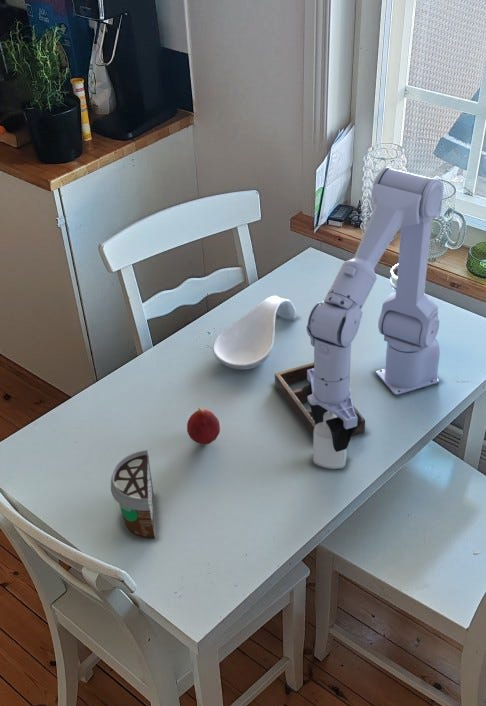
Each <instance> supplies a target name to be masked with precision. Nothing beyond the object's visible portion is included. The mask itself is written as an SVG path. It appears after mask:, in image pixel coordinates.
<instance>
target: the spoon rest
mask: <svg viewBox="0 0 486 706" xmlns="http://www.w3.org/2000/svg"><path fill="white" fill-rule="evenodd" d="M276 315H278V316H281V317H284V318H288V319H292V320H293V319H296V318H297V317H298V316H297V310H296V307H295V305H294V303H293V302H292V301H291V300H290V299H288V298H281V297H279V296H278V295H270V296H269V297H266V298H265V299H264V300H262V301H261V302H260V303H259V304H257V306H255V307H254V308H252V310H250V311H249V312H248V313H246V314H245V315H243V316H242V317H240V318H239V319H238V320H236V321H235V322H234V323H232V324H231V325H230V326H228V327H227V328H226V329H225V330H223V331H222V332H220V334H219V335H218V336H217V337H216V338H215V340H214V342H213V344H212V352H213V355H214V357H215V358H216V360H218V361H219V362H220V363H221V364H222V365H224V366H225V367H228V368H231V369H234V370H250V369H254V368H257V367H258V366H260V365H261V364H263V363H264V362H265V361H266V360H267V359H268V357H269V356H270V355H271V353H272V350H273V347H274V343H275V329H276V328H275V326H276Z"/></svg>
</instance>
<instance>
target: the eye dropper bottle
mask: <svg viewBox="0 0 486 706" xmlns="http://www.w3.org/2000/svg"><path fill="white" fill-rule="evenodd" d="M336 417H337V416H336V415H334V414H333V413H331V412H329V411H327V412H325V413H324V415H323V422H321V423H318V424H316V426H315V428H314V433H313V438H312V461H313V463H314V464H315V465H317V466H319V467H322V468H324V469H332V470H336V469H337V470H339V469H343V468H344V467H345V465H346V462H347V457H348V456H347V453H348V452H347V451H348V448H347V449H345V450H341V451H338V452H336V451H335V450H334V447H333V441H332V434H331V431H330V428H329V426H328V425H327V423H326V420H330V419H333V418H336Z"/></svg>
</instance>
